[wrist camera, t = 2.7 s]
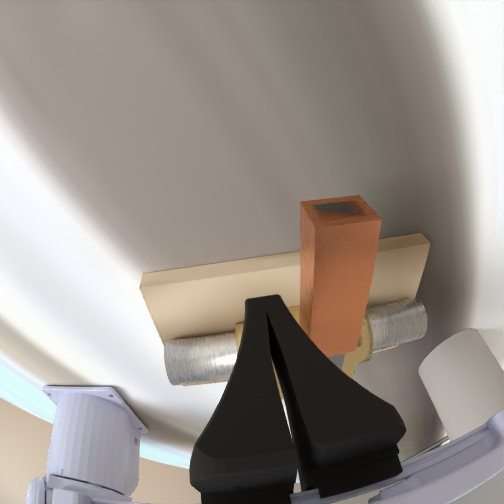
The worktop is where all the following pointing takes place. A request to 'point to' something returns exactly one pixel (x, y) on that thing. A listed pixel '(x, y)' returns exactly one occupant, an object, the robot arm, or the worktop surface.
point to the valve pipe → (371, 337)
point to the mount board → (264, 288)
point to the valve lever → (336, 271)
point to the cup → (463, 382)
